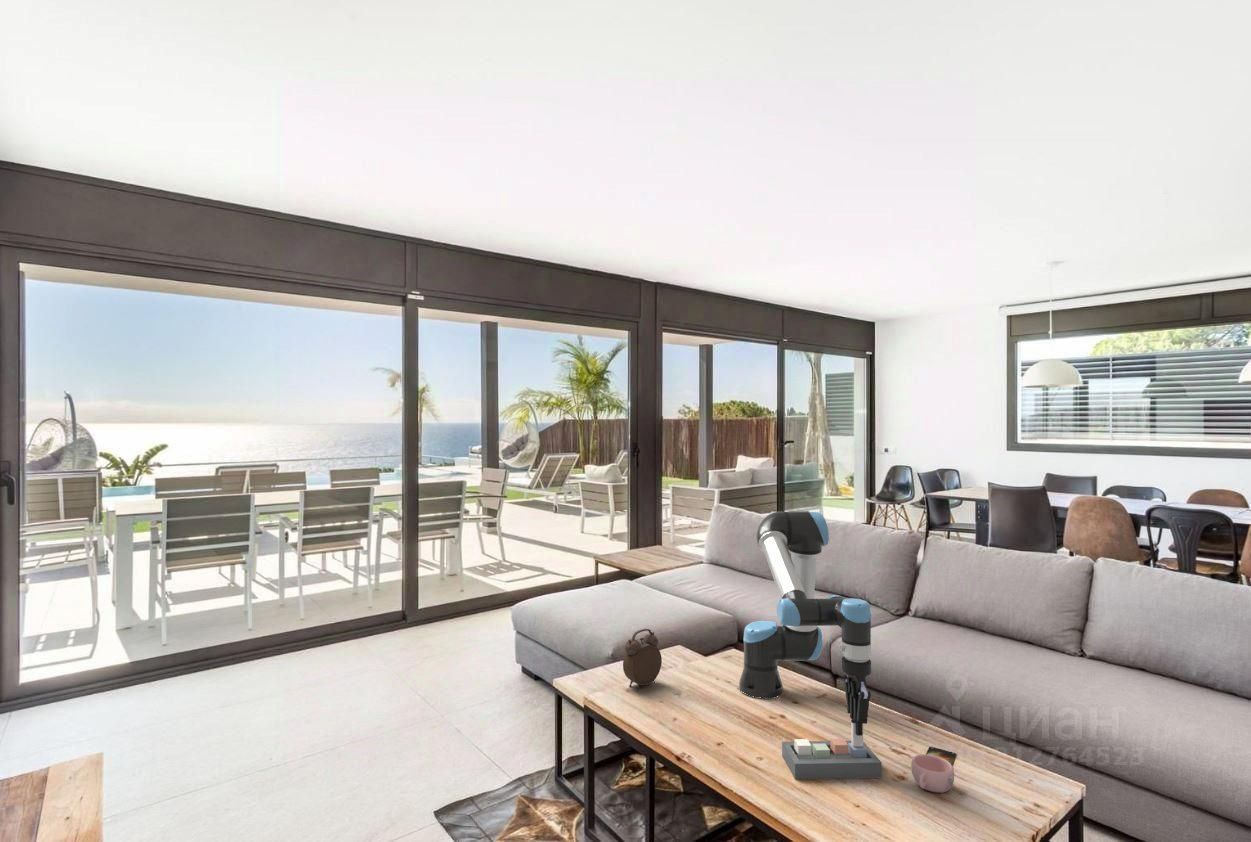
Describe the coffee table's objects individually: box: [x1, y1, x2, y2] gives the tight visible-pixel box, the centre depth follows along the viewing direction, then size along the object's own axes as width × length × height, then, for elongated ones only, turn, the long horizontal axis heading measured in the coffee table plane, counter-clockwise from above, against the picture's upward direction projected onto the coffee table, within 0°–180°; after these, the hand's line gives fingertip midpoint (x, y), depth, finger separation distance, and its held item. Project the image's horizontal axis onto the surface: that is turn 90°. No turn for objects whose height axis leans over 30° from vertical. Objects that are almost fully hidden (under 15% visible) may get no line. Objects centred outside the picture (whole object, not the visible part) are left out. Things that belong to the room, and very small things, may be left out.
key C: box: [812, 743, 830, 759], centre depth 170 cm, size 4×4×2 cm
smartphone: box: [925, 746, 957, 767], centre depth 173 cm, size 7×1×15 cm
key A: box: [848, 743, 867, 759], centre depth 171 cm, size 4×4×2 cm
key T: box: [829, 738, 848, 754], centre depth 171 cm, size 4×4×2 cm
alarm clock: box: [622, 628, 662, 690], centre depth 227 cm, size 15×7×20 cm, turn 130°
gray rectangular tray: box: [781, 740, 883, 780], centre depth 170 cm, size 12×23×4 cm, turn 92°
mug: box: [910, 753, 955, 793], centre depth 160 cm, size 12×10×6 cm
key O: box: [793, 738, 812, 755], centre depth 170 cm, size 4×4×2 cm
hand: (857, 745), depth 171 cm, fingers closed
